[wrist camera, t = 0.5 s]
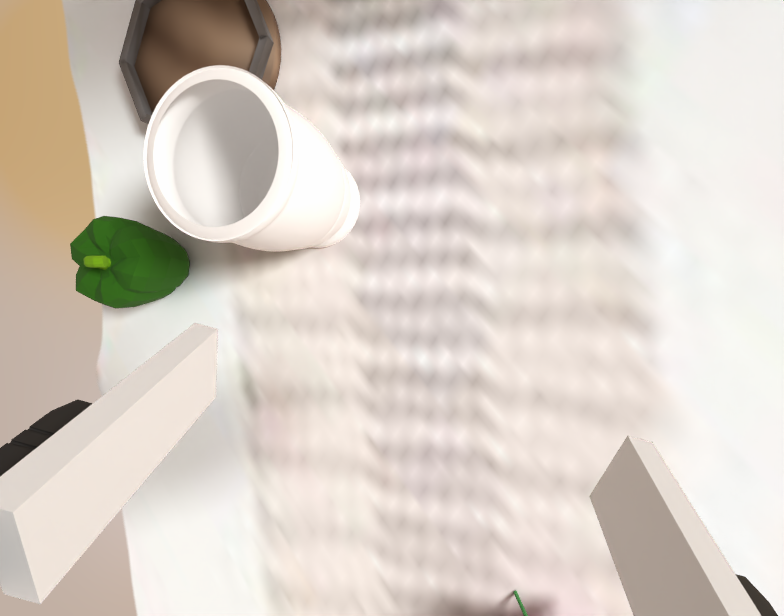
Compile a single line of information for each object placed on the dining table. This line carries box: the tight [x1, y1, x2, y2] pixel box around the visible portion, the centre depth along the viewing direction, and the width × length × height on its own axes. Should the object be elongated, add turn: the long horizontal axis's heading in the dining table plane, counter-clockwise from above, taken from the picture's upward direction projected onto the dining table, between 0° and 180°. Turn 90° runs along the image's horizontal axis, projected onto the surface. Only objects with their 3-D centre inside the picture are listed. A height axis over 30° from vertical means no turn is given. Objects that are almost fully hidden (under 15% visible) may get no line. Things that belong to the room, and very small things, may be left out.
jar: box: [144, 65, 360, 251], centre depth 31 cm, size 11×10×15 cm
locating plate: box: [119, 0, 281, 124], centre depth 40 cm, size 17×17×2 cm
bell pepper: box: [70, 216, 190, 308], centre depth 38 cm, size 8×8×10 cm
